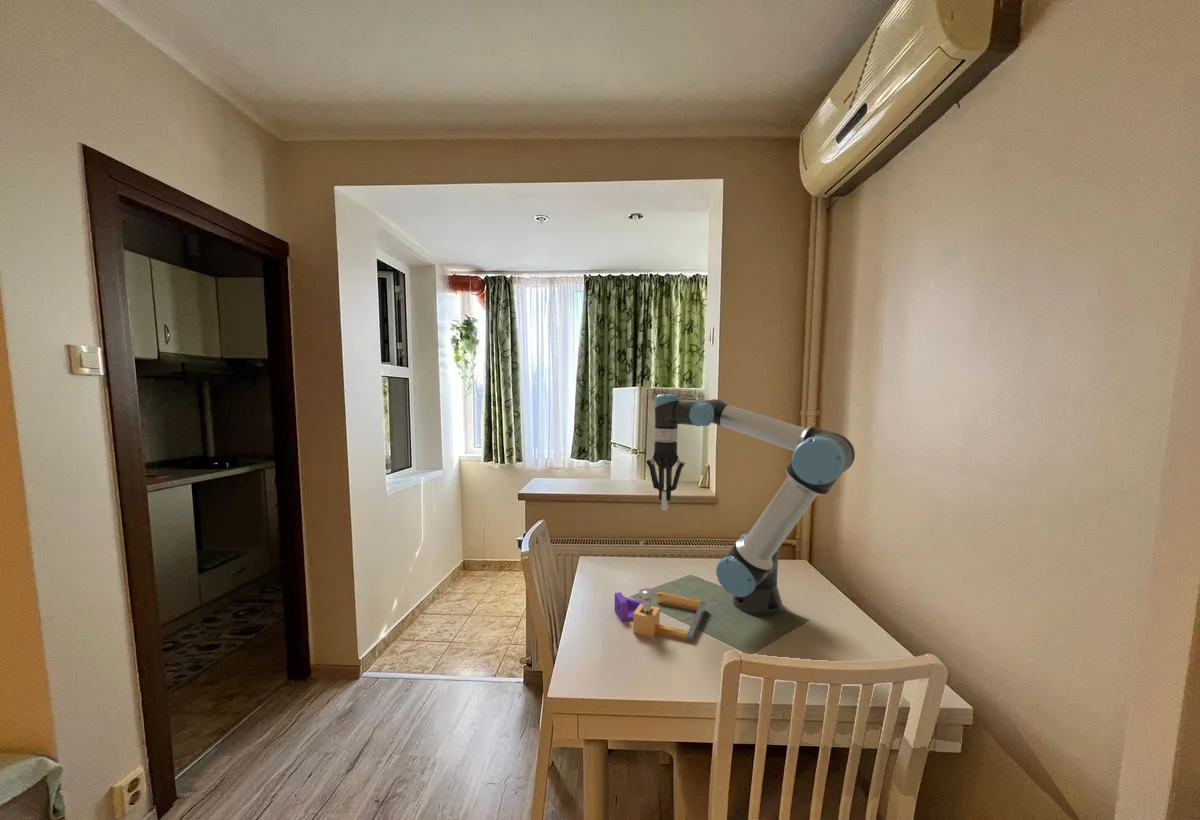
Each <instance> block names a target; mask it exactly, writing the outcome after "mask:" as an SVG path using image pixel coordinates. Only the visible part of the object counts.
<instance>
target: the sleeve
mask: <svg viewBox="0 0 1200 820" xmlns="http://www.w3.org/2000/svg"><path fill="white" fill-rule="evenodd" d="M660 613H661V609H660V607H657V606H652V605H651V614H650V615H649V614H644V613H643V604H640V605H639V606H638V607H637V609H636V610H635V612H634V613H633V620H632V625H633V627H632V632H633V633H635V634H638V635H644V636H646V637H651V638H654V637H655V635H656V634H655V630H656V625H657V624H660V622H661V621H660Z"/></svg>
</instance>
